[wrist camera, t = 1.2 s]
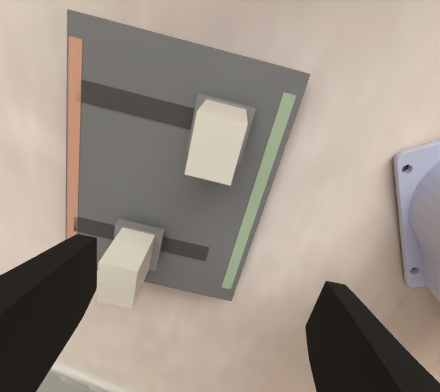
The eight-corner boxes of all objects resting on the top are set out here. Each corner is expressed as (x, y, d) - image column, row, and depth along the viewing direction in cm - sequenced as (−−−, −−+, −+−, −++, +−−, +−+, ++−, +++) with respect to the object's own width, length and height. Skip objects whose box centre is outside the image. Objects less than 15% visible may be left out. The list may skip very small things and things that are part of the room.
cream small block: (254, 107, 13) (259, 124, 10) (240, 160, 15) (240, 190, 11) (199, 93, 13) (186, 105, 10) (188, 147, 14) (173, 174, 11)
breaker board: (303, 72, 14) (310, 74, 13) (231, 284, 20) (231, 301, 19) (83, 13, 14) (66, 8, 12) (77, 249, 20) (64, 264, 19)
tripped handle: (164, 229, 17) (146, 271, 13) (158, 265, 18) (139, 312, 14) (119, 218, 16) (89, 259, 13) (115, 255, 18) (87, 300, 14)
